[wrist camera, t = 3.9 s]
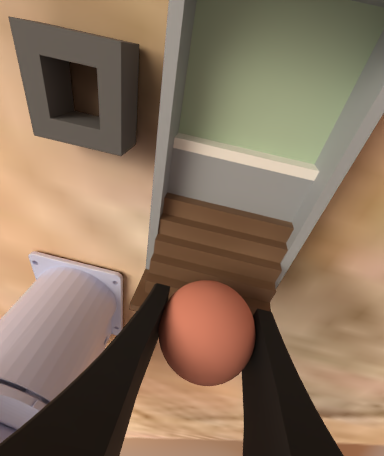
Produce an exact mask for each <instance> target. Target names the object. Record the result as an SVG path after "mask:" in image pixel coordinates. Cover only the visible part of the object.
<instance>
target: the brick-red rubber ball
mask: <svg viewBox="0 0 384 456" xmlns="http://www.w3.org/2000/svg"><path fill="white" fill-rule="evenodd" d="M158 334H159V343H160V347H161V350H162V353H163V355H164V357H165V359H166V361H167V363H168V364H169V366H170V367H171V368H172V369H173V370H174V371H175V372H176V373H177V374H178V375H179V376H180V377H182V378H183V379H185V380H187V381H189V382H191V383H194V384H197V385H202V386H214V385H219V384H223V383H225V382H227V381H229V380H231V379H233V378H234V377H236V376H237V375H238V374H239V373H240V372H241V371H242V370H243V369H244V368H245V366H246V365H247V363H248V362H249V360H250V358H251V355H252V353H253V349H254V346H255V337H256V331H255V324H254V319H253V316H252V313H251V311H250V309H249V307H248V305H247V303H246V302H245V301H244V299H243V298H242V297H241V296H240V295H239V294H238V293H237V292H236V291H235V290H234V289H232V288H231V287H229V286H227V285H225V284H223V283H220V282H217V281H211V280H200V281H195V282H192V283H189V284H187V285H185V286H183V287H181V288H180V289H179V290H177V291H176V292H175V293H174V294H173V295H172V296H171V297H170V299H169V300H168V301H167V303H166V305H165V308H164V312H163V314H162V317H161V321H160V325H159V331H158Z"/></svg>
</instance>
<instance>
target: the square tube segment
mask: <svg viewBox="0 0 384 456" xmlns="http://www.w3.org/2000/svg"><path fill="white" fill-rule="evenodd" d="M8 17H9V16H8ZM9 22H10V26H11V31H12V35H13V40H14V45H15V49H16V54H17V58H18V63H19V68H20V72H21V77H22V82H23V86H24V91H25V95H26V100H27V105H28V109H29V114H30V118H31V123H32V128H33V132H34V135H35V136H39V137H43V138H47V139H52V140H56V141H60V142H64V143H68V144H73V145H77V146H81V147H85V148H89V149H94V150H98V151H102V152H106V153H110V154H114V155H119V156H122V155H123V154H124V153H126V152H127V151H128V150H129V149H131V148H132V147H133V146H134V145H135V144H136V126H137V97H138V69H139V44H135V43H131V42H126V41H122V40H117V39H113V38H109V37H104V36H100V35H95V34H91V33H86V32H82V31H77V30H73V29H68V28H64V27H60V26H55V25H51V24H46V23H41V22H36V21H30V20H25V19H20V18H14V17H9ZM69 62H74V63H78V64H82V65H87V66H91V67H95V68H97V80H98V99H99V116H95V115H91V114H87V113H83V112H78V111H74V102H73V93H72V84H71V75H70V66H69Z"/></svg>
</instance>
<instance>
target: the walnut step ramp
mask: <svg viewBox="0 0 384 456" xmlns="http://www.w3.org/2000/svg"><path fill="white" fill-rule="evenodd" d="M293 230H294V227H293V224H292V222H288V221H284V220H280V219H275V218H271V217H267V216H263V215H259V214H255V213H251V212H246V211H242V210H238V209H234V208H230V207H226V206H222V205H217V204H213V203H209V202H205V201H201V200H197V199H193V198H188V197H184V196H180V195H176V194H172V193H168V192H167V194H166V196H165V198H164V206H163V213H162V215H161V217H160V220H159V229H158V234H157V236H156V238H155V243H154V253H153V255H152V257H151V260H150V267H149V270H148V269H145V271H144V274H143V276H142V278H141V280H140V282H139V285H138V287H137V289H136V291H135V294H134V296H133V298H132V300H131V303H130V310H133V311H137V310H138V309H139V308H140V306H141V305H142V303H143V302H144V301H145V299H146V298H147V296H148V295H149V293H150V291H151V290H152V288H153V286H154V284H156V283H159V284H163V285H167V286H170V292H169V297H168V300H169V299H170V297H171V296H172V295H173V294H174V293H175V292H176V291H177V290H179V289H180V288H181V287H183V286H185V285H187V284H189V283H192V282H195V281H200V280H211V281H217V282H220V283H223V284H225V285H227V286H229V287H231V288H232V289H234V290H235V291H236V292H237V293H238V294H239V295H240V296H241V297H242V298H243V299H244V301H245V302H246V303H247V305H248V307H249V309H250V311H251V313H252V316H253V315H254V313H255V311H256V310H257V308H258V309H262V310H266V311H270V312H271V309H270V301H271V299H272V298H273V296H274V294H275V293H276V288H275V282H276V280H277V279H278V277H279V275H280V274H281V272H282V269H281V264H280V263H281V261H282V260H283V258H284V256H285V254H286V253H287V251H288V249H287V245H286V242H287V241H288V239H289V237H290V235H291V233H292V232H293Z"/></svg>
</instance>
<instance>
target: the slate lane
mask: <svg viewBox="0 0 384 456" xmlns="http://www.w3.org/2000/svg"><path fill="white" fill-rule="evenodd" d="M383 113H384V0H169V6H168V17H167V29H166V40H165V52H164V63H163V75H162V86H161V98H160V109H159V121H158V132H157V144H156V155H155V167H154V178H153V190H152V201H151V213H150V224H149V236H148V247H147V259H146V269H148V270H149V267H150V260H151V257H152V255H153V253H154V243H155V238H156V236H157V234H158V229H159V220H160V217H161V215H162V213H163V206H164V198H165V196H166V194H167V192H168V193H172V194H176V195H180V196H184V197H188V198H193V199H197V200H201V201H205V202H209V203H213V204H217V205H222V206H226V207H230V208H234V209H238V210H242V211H246V212H251V213H255V214H259V215H263V216H267V217H271V218H275V219H280V220H284V221H288V222H292V224H293V227H294V230H293V232H292V233H291V235H290V237H289V239H288V241H287V242H286V245H287V249H288V251H287V253H286V254H285V256H284V258H283V260H282V261H281V263H280V264H281V269H282V272H281V274H280V275H279V277H278V279H277V280H276V282H275V288H277V287H278V285H279V283H280V282H281V280H282V278H283V277H284V275H285V273H286V272H287V270H288V269H289V267H290V265H291V264H292V262H293V260H294V259H295V257H296V256H297V254H298V252H299V251H300V249H301V247H302V246H303V244H304V242H305V241H306V239H307V238H308V236H309V234H310V233H311V231H312V229H313V228H314V226H315V224H316V223H317V221H318V220H319V218H320V216H321V215H322V213H323V211H324V210H325V208H326V206H327V205H328V203H329V202H330V200H331V198H332V197H333V195H334V193H335V192H336V190H337V189H338V187H339V185H340V184H341V182H342V180H343V179H344V177H345V175H346V174H347V172H348V171H349V169H350V167H351V166H352V164H353V162H354V161H355V159H356V157H357V156H358V154H359V153H360V151H361V149H362V148H363V146H364V144H365V143H366V141H367V139H368V138H369V136H370V135H371V133H372V131H373V130H374V128H375V126H376V125H377V123H378V122H379V120H380V118H381V117H382V115H383Z"/></svg>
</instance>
